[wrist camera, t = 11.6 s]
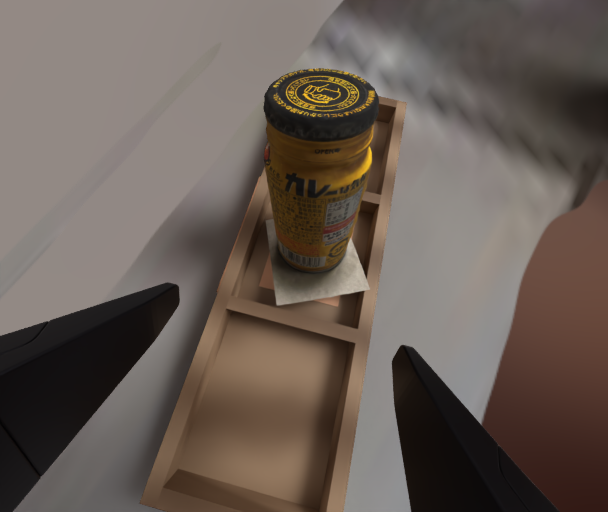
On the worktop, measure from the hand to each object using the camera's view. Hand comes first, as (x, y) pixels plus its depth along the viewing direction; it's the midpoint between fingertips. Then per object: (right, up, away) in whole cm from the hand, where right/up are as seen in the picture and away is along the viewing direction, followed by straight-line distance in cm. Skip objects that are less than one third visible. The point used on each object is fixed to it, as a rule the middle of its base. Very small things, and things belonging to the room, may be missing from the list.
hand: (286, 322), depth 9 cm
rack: (+1, +3, +13) cm, 13 cm away
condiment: (+1, +3, +11) cm, 11 cm away
